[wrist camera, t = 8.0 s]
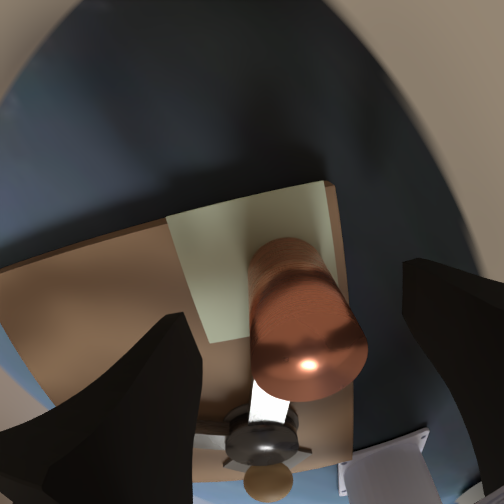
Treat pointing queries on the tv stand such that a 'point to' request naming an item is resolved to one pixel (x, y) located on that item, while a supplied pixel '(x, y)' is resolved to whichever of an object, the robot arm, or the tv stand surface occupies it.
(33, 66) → the tv stand surface
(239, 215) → the light wood flat board
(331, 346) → the lever
